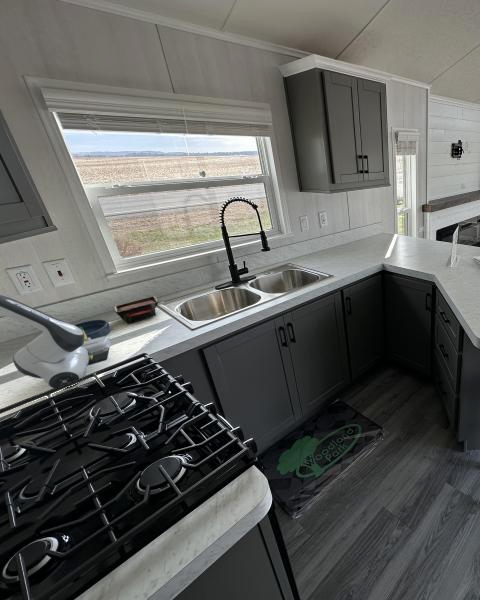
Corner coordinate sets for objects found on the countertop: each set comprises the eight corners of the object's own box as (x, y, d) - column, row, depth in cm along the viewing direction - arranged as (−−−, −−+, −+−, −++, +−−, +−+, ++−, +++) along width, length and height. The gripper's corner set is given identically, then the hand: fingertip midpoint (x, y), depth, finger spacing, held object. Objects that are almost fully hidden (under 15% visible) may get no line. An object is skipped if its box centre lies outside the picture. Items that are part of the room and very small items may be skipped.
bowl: (74, 350, 137) (69, 342, 135) (53, 342, 144) (48, 334, 142) (119, 330, 151) (116, 323, 149) (98, 324, 158) (95, 316, 156)
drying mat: (59, 372, 123) (59, 371, 123) (65, 357, 132) (65, 356, 132) (107, 359, 130) (106, 358, 130) (109, 346, 139) (109, 344, 139)
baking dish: (123, 318, 166) (112, 302, 161) (163, 304, 175) (153, 288, 169) (124, 331, 156) (112, 315, 151) (166, 315, 165) (156, 299, 159)
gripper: (105, 341, 122) (109, 326, 133) (29, 361, 112) (39, 343, 122) (112, 355, 125) (115, 340, 135) (38, 376, 115) (47, 357, 125)
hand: (78, 342), depth 129 cm, fingers closed on sponge, 4 cm apart
